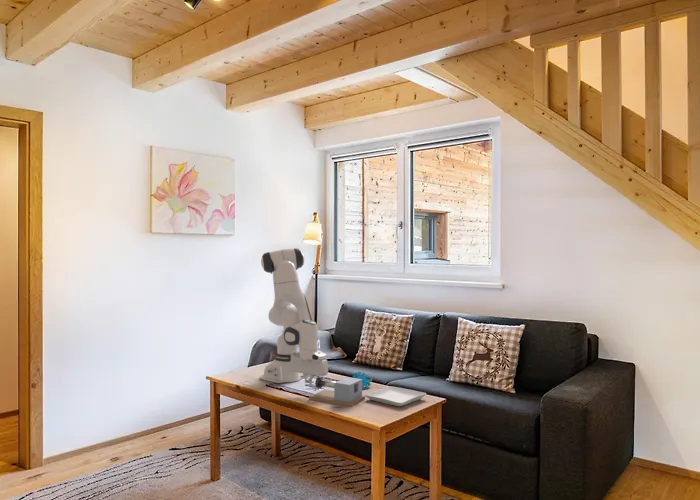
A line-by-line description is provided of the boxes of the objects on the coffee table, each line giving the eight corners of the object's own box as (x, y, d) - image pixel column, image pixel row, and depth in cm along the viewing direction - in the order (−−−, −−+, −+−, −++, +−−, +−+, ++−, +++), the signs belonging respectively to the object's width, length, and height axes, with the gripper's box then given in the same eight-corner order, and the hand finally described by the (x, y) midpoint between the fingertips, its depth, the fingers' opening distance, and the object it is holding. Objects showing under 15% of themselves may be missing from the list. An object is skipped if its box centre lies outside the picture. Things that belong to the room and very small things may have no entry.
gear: (355, 387, 261) (351, 370, 268) (351, 394, 264) (346, 376, 271) (375, 388, 266) (370, 371, 272) (370, 394, 269) (365, 377, 276)
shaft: (315, 388, 249) (315, 378, 249) (320, 386, 253) (321, 376, 253) (340, 392, 243) (340, 381, 243) (345, 390, 247) (345, 379, 247)
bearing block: (309, 399, 245) (309, 379, 245) (324, 392, 258) (325, 373, 258) (350, 406, 235) (350, 385, 235) (364, 398, 247) (365, 379, 247)
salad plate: (363, 401, 245) (363, 393, 245) (390, 392, 261) (390, 385, 261) (401, 410, 231) (401, 402, 231) (427, 400, 247) (427, 392, 247)
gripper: (287, 352, 256) (286, 381, 256) (322, 357, 246) (322, 387, 246) (294, 350, 262) (294, 378, 262) (329, 355, 252) (329, 384, 252)
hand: (308, 382), depth 254 cm, fingers closed
